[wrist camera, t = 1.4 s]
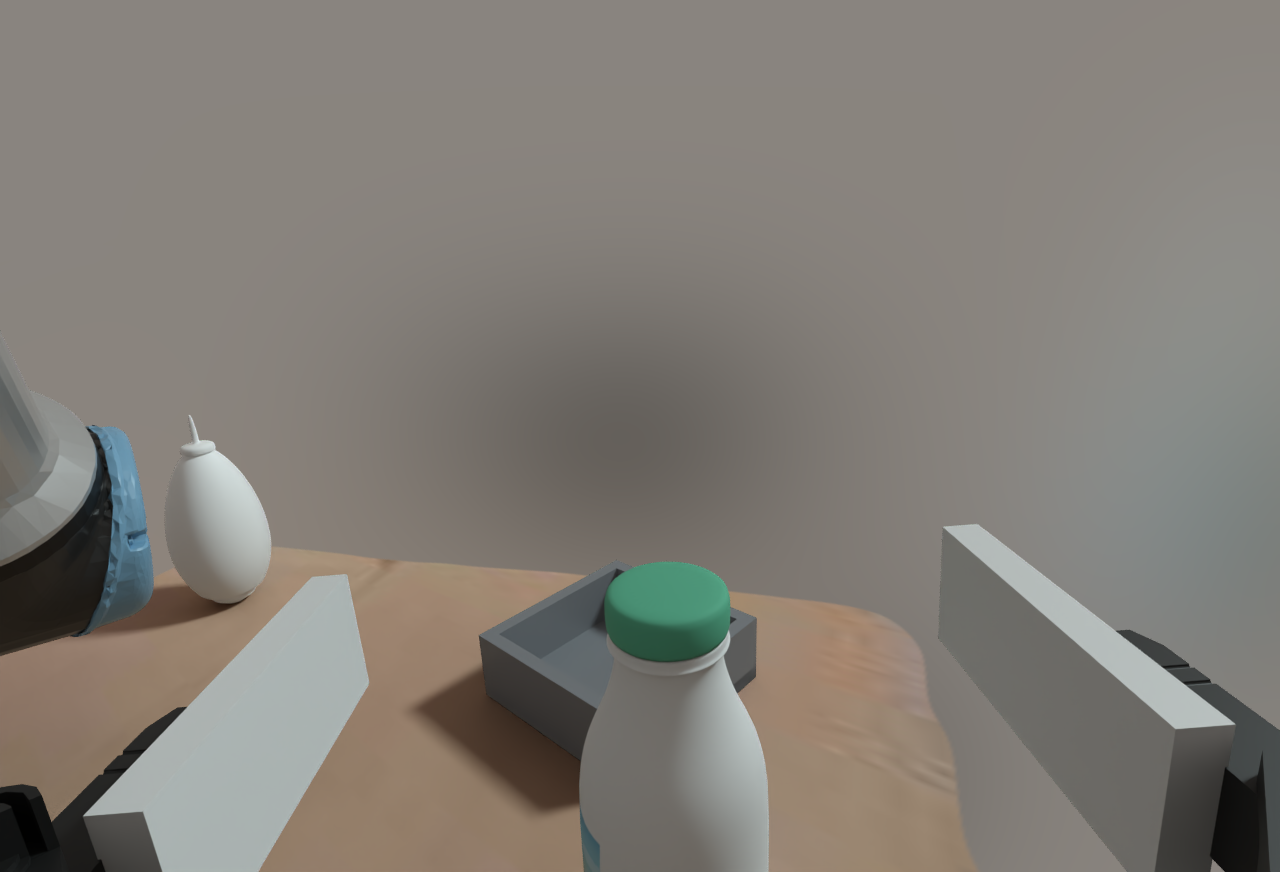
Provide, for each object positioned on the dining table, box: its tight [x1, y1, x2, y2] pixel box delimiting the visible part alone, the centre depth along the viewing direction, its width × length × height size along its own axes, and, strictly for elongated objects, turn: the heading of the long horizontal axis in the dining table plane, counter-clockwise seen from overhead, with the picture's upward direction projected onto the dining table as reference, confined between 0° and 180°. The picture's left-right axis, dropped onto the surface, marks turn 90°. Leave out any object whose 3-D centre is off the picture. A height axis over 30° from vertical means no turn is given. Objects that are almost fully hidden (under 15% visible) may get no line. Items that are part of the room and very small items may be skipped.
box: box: [479, 560, 757, 761], centre depth 50 cm, size 14×14×5 cm
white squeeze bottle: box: [165, 415, 271, 604], centre depth 62 cm, size 8×8×18 cm
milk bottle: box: [579, 562, 769, 872], centre depth 28 cm, size 8×8×20 cm
